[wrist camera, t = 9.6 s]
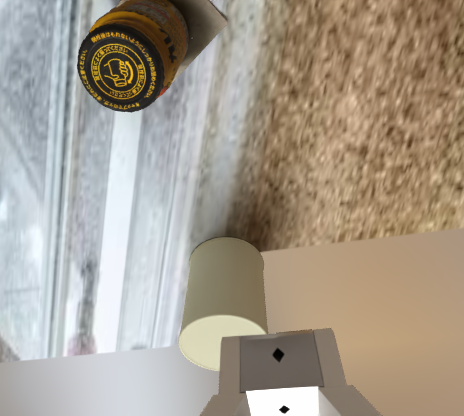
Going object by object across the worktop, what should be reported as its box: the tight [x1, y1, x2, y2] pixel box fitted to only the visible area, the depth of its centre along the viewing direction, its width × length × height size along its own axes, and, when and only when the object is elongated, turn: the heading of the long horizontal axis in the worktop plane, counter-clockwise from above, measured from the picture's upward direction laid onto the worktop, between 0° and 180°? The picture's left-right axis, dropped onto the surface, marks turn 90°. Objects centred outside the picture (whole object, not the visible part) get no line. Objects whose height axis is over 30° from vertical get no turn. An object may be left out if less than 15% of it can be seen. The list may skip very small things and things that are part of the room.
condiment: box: [77, 0, 228, 112], centre depth 28 cm, size 7×8×12 cm
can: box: [179, 237, 268, 371], centre depth 44 cm, size 9×9×12 cm
